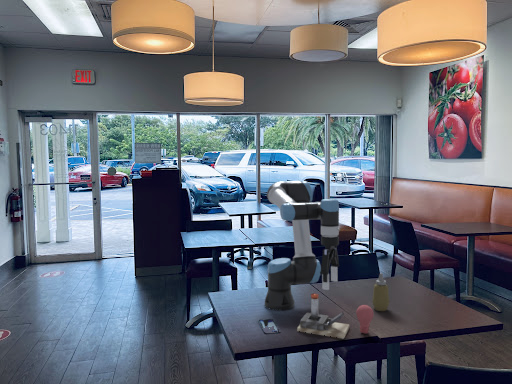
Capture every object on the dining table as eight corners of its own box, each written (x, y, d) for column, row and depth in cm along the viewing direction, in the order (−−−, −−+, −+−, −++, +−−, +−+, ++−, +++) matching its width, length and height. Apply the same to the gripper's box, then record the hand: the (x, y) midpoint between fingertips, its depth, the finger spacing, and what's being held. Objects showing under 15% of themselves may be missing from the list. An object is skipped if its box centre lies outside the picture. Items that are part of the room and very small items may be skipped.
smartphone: (264, 333, 174) (257, 319, 189) (264, 335, 174) (257, 321, 189) (281, 332, 175) (273, 318, 190) (281, 334, 176) (273, 320, 190)
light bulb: (370, 329, 178) (370, 302, 177) (375, 336, 171) (376, 308, 170) (354, 329, 178) (354, 302, 177) (358, 336, 171) (359, 308, 170)
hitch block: (297, 331, 177) (297, 321, 177) (305, 321, 188) (305, 311, 188) (343, 338, 169) (344, 328, 169) (349, 327, 180) (349, 317, 180)
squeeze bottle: (390, 313, 197) (390, 276, 196) (372, 311, 199) (373, 275, 197) (388, 307, 205) (388, 271, 204) (371, 306, 207) (372, 270, 205)
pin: (310, 325, 179) (310, 295, 178) (311, 322, 182) (312, 293, 181) (317, 326, 178) (317, 296, 177) (319, 323, 181) (319, 293, 180)
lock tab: (326, 328, 175) (324, 325, 176) (329, 324, 180) (327, 321, 180) (342, 318, 172) (340, 315, 173) (344, 313, 177) (342, 311, 177)
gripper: (330, 240, 161) (331, 294, 162) (345, 232, 184) (345, 279, 185) (312, 239, 164) (312, 292, 165) (329, 231, 187) (329, 277, 188)
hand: (330, 285), depth 175 cm, fingers open, 13 cm apart
